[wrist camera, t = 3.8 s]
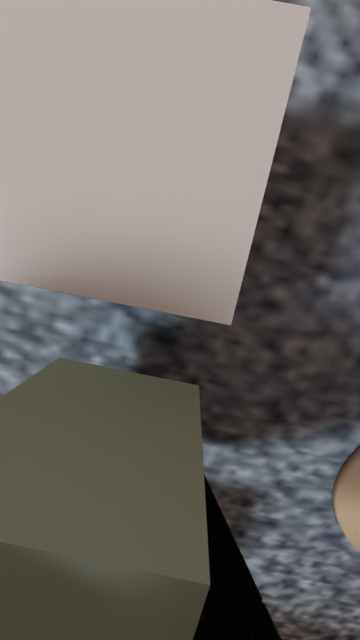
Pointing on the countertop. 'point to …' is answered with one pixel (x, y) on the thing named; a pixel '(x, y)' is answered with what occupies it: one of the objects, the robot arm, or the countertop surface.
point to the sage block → (101, 507)
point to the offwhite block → (140, 145)
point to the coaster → (348, 498)
